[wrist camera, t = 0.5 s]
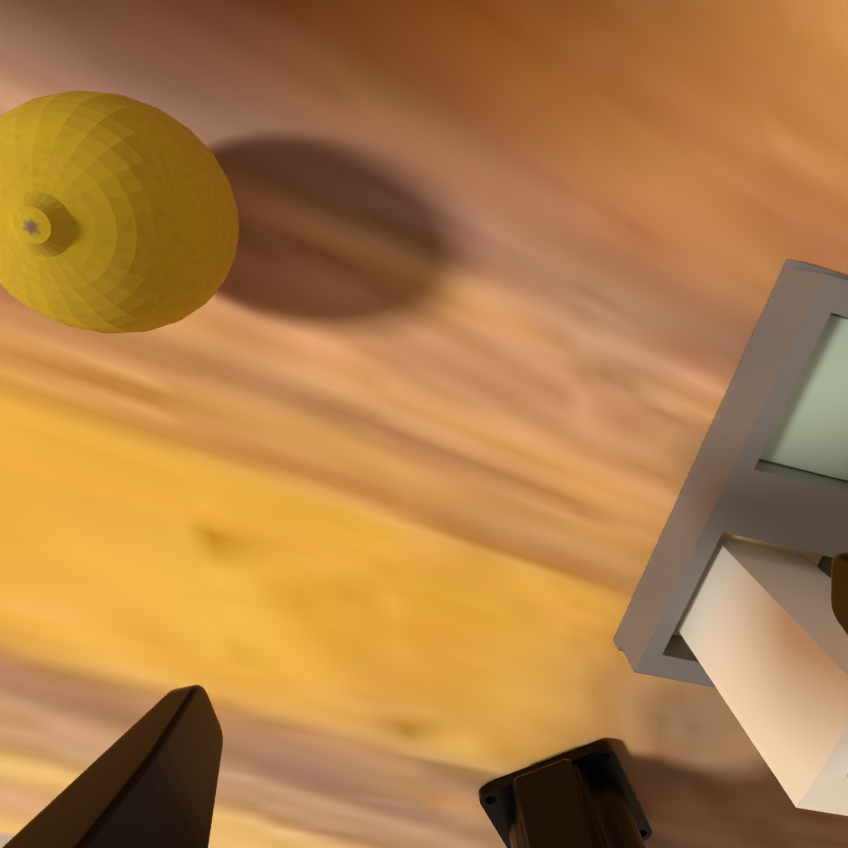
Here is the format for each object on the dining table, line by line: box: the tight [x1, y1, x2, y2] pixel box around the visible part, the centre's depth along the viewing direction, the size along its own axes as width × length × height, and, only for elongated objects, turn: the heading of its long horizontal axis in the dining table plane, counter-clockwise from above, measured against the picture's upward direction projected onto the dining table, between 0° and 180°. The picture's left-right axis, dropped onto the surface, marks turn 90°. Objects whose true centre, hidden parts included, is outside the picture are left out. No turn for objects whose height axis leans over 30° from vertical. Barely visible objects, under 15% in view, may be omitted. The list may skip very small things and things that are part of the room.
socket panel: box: [613, 259, 848, 687], centre depth 22 cm, size 16×7×2 cm, turn 165°
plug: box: [676, 537, 848, 816], centre depth 20 cm, size 4×4×9 cm
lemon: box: [0, 91, 239, 333], centre depth 15 cm, size 6×6×8 cm
